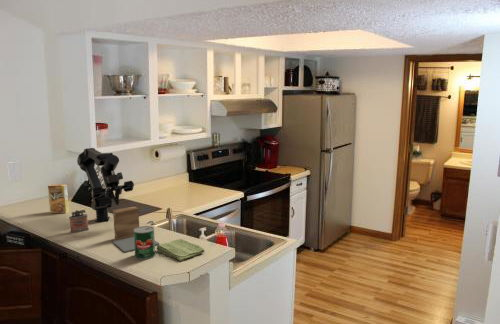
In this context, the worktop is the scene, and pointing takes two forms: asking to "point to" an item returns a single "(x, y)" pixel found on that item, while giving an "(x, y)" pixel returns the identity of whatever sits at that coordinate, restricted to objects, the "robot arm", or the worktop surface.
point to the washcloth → (180, 249)
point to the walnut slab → (125, 222)
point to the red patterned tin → (78, 222)
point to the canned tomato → (144, 242)
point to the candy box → (58, 198)
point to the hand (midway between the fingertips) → (117, 205)
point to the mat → (127, 244)
